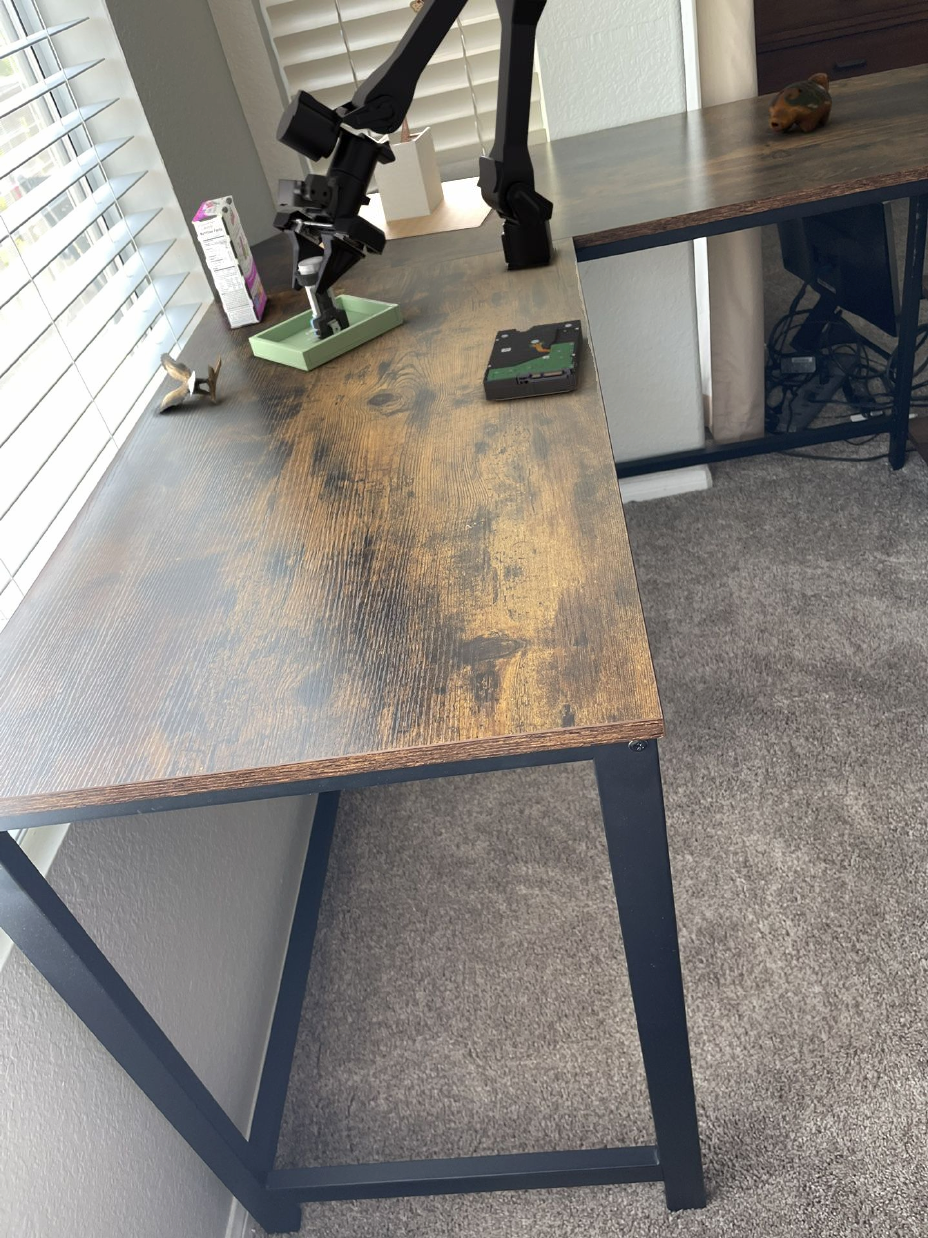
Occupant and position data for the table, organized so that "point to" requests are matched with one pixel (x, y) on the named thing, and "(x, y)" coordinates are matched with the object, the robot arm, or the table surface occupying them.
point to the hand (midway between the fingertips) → (306, 291)
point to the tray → (298, 352)
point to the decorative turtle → (801, 105)
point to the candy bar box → (230, 261)
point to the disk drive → (534, 361)
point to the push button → (320, 302)
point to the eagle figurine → (187, 382)
